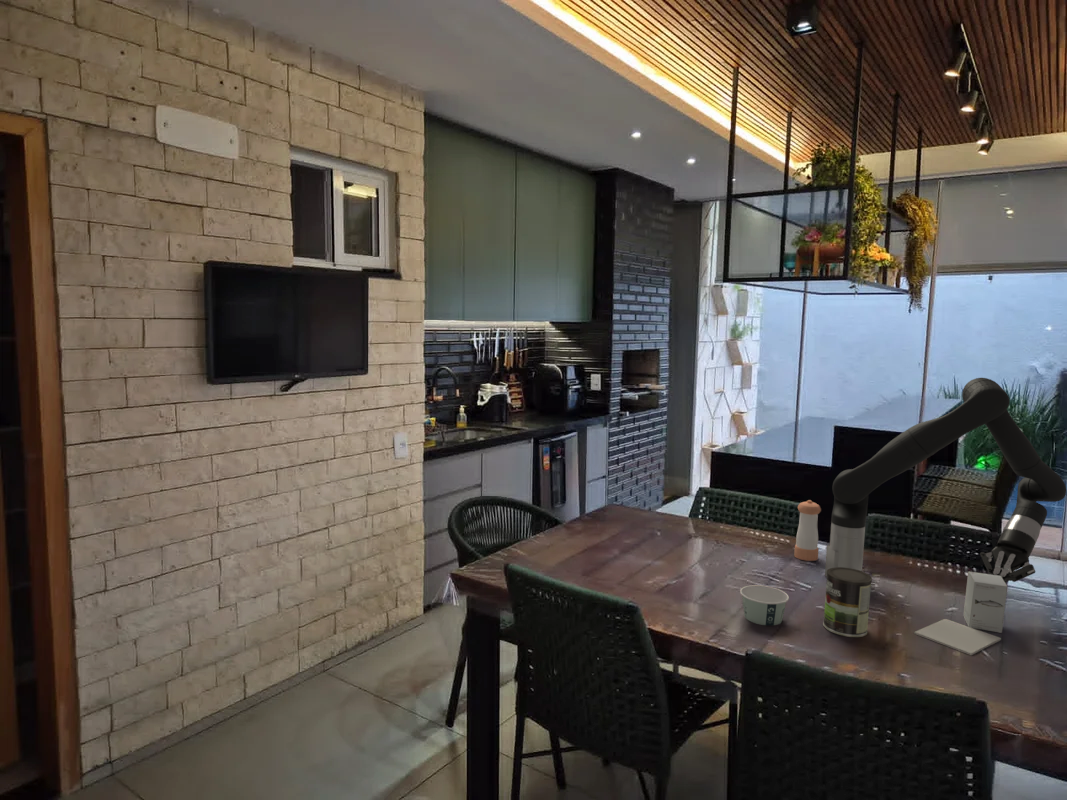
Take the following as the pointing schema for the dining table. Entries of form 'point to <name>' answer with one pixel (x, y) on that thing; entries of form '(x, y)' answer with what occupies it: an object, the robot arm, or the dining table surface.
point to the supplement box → (985, 601)
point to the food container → (763, 604)
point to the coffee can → (847, 601)
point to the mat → (958, 636)
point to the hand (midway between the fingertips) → (994, 589)
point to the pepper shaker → (807, 532)
